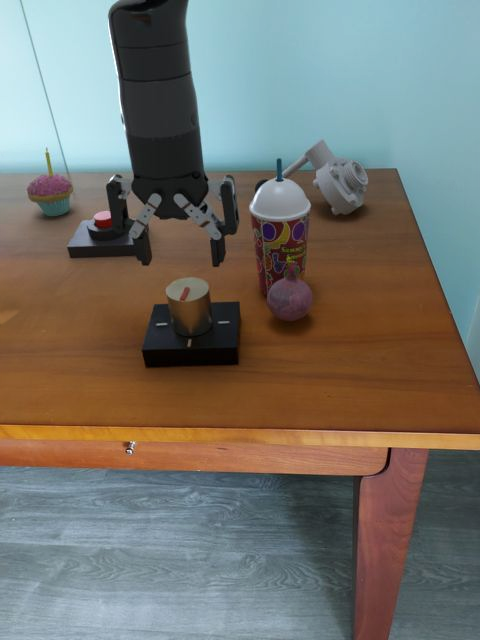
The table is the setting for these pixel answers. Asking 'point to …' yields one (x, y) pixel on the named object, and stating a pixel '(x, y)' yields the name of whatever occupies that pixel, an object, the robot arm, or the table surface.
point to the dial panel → (193, 339)
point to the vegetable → (290, 296)
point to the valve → (332, 178)
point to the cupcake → (51, 192)
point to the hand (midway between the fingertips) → (181, 263)
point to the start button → (103, 219)
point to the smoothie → (279, 229)
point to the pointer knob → (190, 306)
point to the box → (100, 242)
